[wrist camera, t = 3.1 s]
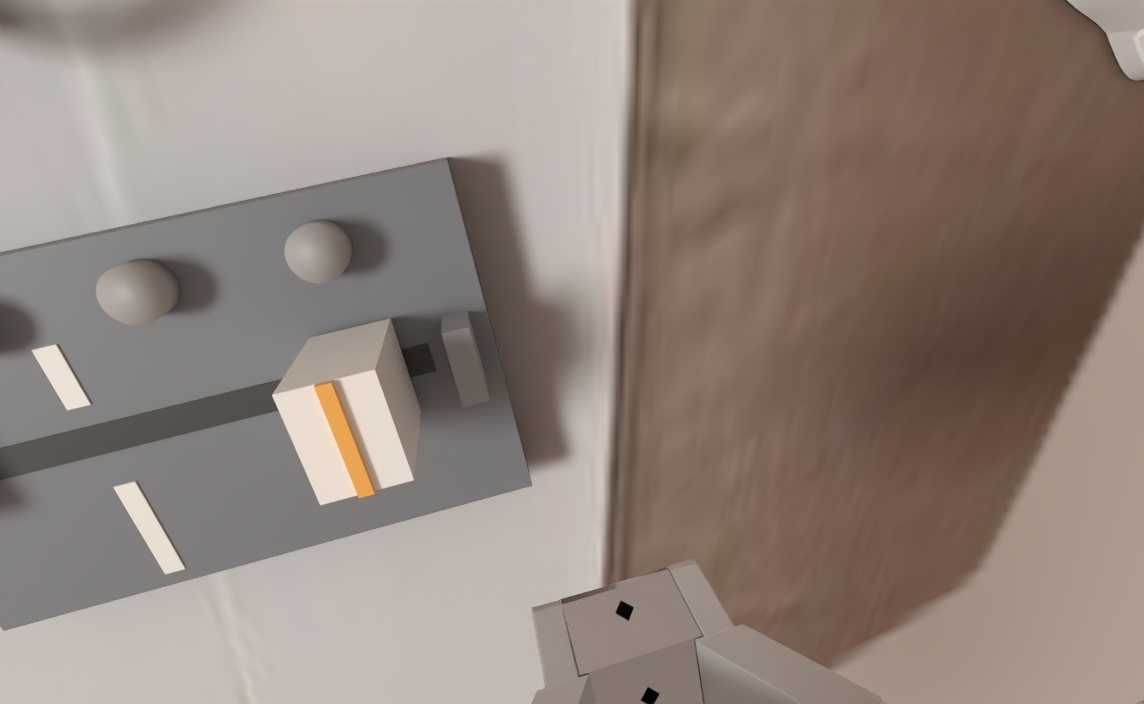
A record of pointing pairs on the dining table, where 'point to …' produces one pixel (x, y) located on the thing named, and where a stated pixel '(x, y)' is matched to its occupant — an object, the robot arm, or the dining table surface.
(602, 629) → the robot arm
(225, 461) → the console
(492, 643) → the dining table surface
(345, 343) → the fader tab
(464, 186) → the dining table surface
